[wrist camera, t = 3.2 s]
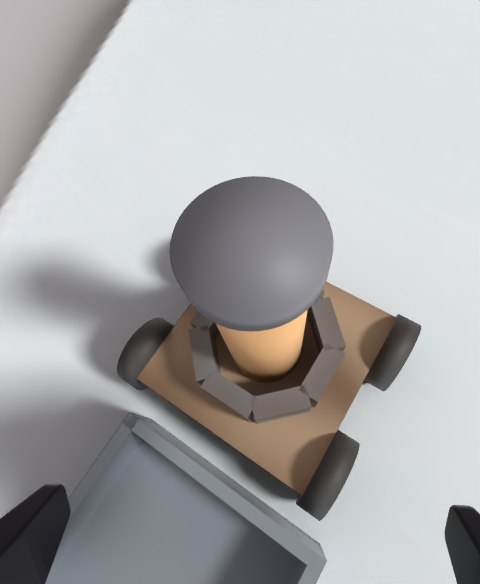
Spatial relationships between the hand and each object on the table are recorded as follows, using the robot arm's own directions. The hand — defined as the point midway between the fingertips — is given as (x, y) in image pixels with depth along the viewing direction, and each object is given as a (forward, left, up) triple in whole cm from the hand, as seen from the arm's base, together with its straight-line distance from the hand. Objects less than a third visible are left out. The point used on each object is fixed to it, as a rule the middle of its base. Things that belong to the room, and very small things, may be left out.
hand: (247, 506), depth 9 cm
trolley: (+5, +3, -13) cm, 14 cm away
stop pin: (+5, +3, -10) cm, 12 cm away
